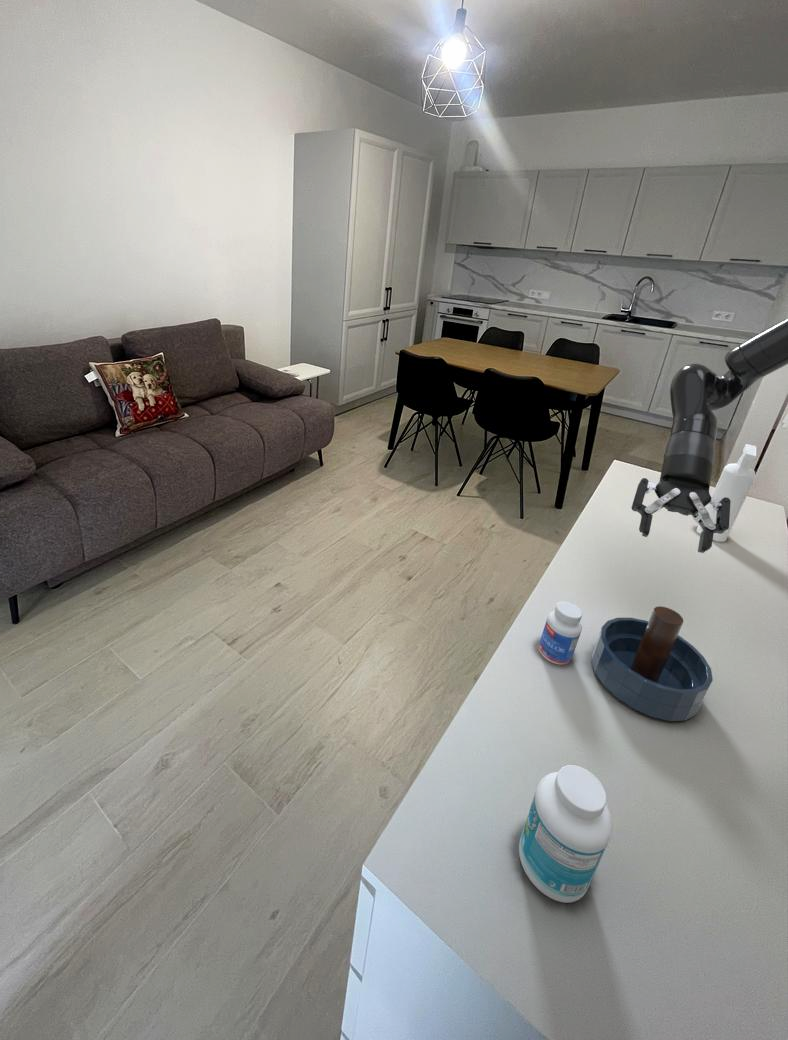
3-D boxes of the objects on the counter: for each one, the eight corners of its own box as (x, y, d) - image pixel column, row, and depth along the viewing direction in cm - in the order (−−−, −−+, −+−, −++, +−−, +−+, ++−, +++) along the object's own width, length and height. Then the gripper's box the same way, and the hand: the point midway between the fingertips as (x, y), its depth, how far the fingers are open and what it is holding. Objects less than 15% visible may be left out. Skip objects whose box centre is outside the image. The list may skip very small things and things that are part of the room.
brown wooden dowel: (660, 679, 81) (687, 616, 76) (651, 692, 78) (678, 628, 73) (634, 664, 84) (658, 602, 79) (625, 676, 81) (649, 613, 76)
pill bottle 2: (540, 815, 61) (567, 738, 56) (599, 874, 55) (635, 795, 50) (503, 856, 56) (529, 777, 51) (564, 924, 51) (600, 843, 46)
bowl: (709, 689, 81) (724, 659, 78) (679, 744, 71) (695, 712, 69) (612, 633, 91) (622, 605, 89) (574, 674, 81) (584, 644, 79)
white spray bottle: (728, 530, 131) (766, 442, 121) (727, 549, 122) (767, 456, 112) (698, 520, 134) (733, 435, 125) (694, 538, 126) (731, 447, 116)
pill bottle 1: (531, 650, 86) (545, 605, 82) (547, 637, 89) (560, 593, 85) (562, 671, 82) (577, 625, 78) (577, 656, 85) (592, 611, 82)
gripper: (649, 443, 91) (631, 524, 86) (743, 463, 85) (730, 551, 80) (639, 460, 98) (623, 536, 93) (726, 479, 92) (714, 562, 87)
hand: (673, 543), depth 86 cm, fingers open, 8 cm apart
